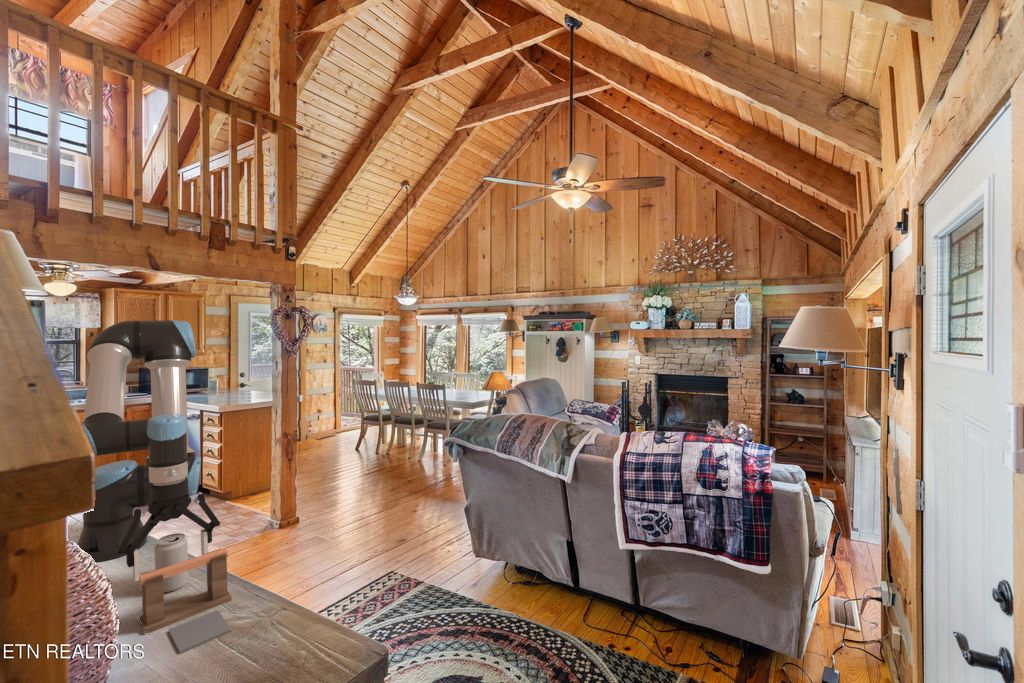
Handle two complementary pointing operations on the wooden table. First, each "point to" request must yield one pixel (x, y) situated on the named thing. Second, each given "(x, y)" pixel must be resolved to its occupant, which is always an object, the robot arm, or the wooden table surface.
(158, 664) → the wooden table surface
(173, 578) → the beverage can
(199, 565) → the crossbar
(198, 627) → the rubber mat
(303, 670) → the wooden table surface
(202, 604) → the walnut stand
